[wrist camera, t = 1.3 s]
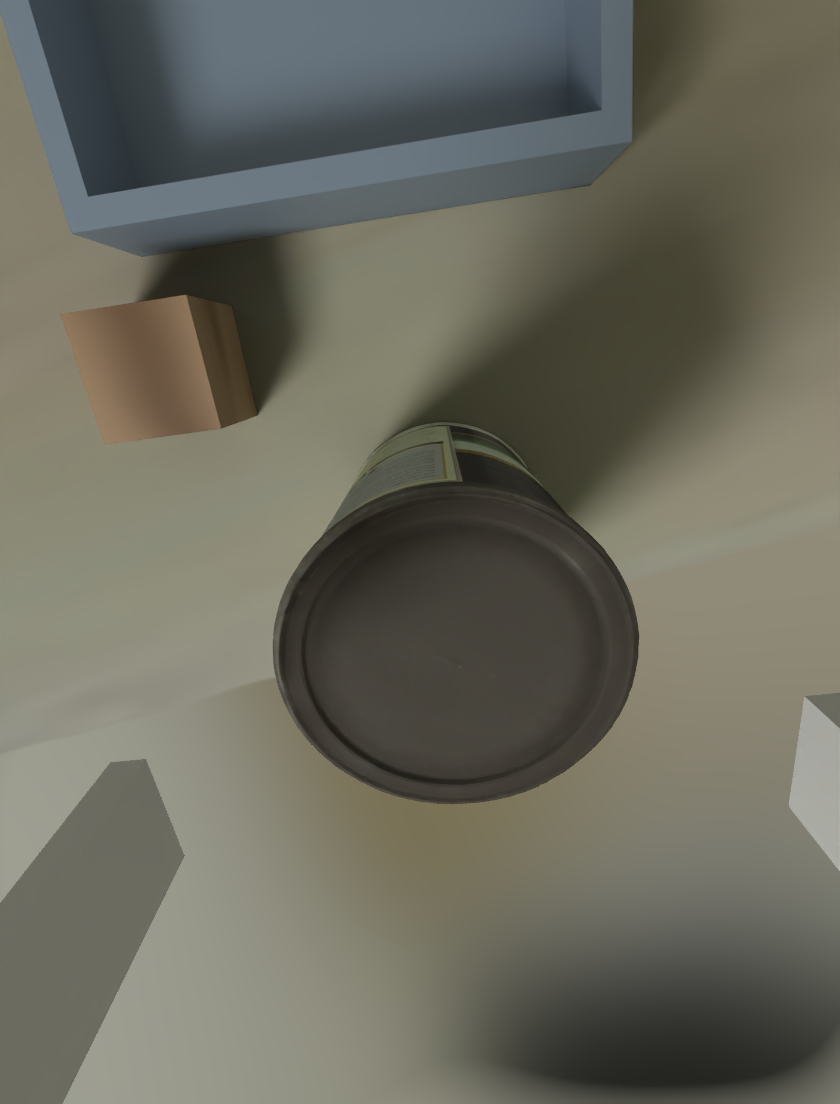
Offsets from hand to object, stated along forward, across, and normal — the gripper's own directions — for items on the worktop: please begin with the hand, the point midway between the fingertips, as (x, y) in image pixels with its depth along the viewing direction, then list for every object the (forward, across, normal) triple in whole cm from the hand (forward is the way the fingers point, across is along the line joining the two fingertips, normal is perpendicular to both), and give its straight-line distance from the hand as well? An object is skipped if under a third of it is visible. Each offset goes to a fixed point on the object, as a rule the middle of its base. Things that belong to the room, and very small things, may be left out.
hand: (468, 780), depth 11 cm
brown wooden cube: (+18, -11, +9) cm, 23 cm away
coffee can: (+18, 0, 0) cm, 19 cm away
